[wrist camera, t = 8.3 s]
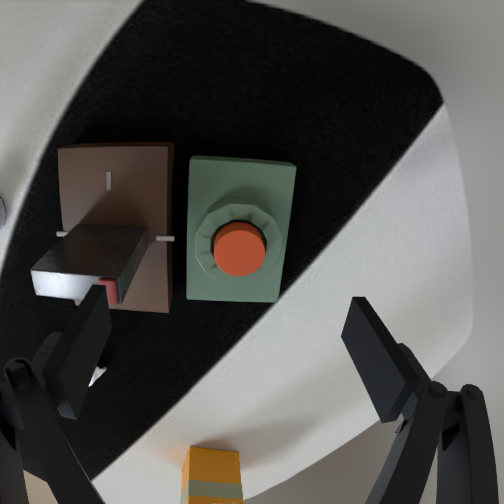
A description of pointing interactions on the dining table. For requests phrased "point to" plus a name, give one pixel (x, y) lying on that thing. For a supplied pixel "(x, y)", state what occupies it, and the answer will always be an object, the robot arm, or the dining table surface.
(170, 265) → the panel
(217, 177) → the button block
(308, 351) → the dining table surface
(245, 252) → the button
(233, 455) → the orange juice
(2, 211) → the rook chess piece
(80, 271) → the red-tipped grey box
